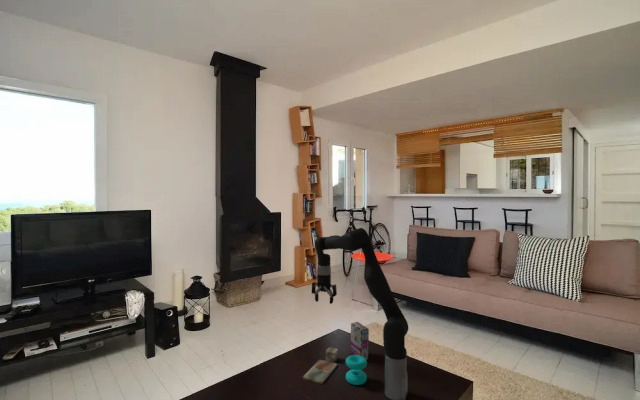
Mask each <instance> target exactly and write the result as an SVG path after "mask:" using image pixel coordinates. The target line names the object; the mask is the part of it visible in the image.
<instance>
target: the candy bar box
mask: <svg viewBox="0 0 640 400" xmlns="http://www.w3.org/2000/svg"><path fill="white" fill-rule="evenodd" d="M369 332H370V331H369V328H368V327H367V326H365V325H363V324H362V323H360V322H358V321H355V322H351V323H350V353H351V354H352V355H360V356H362V357H364V358H365V359H366V360H369V342H370V341H369V336H370V335H369V334H370V333H369Z"/></svg>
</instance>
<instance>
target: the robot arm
mask: <svg viewBox="0 0 640 400" xmlns="http://www.w3.org/2000/svg"><path fill="white" fill-rule="evenodd" d="M314 248H315V251H316V256H317V269H316V270H317V271H316V273H317V274H316V279H317V280H316V281H317V282H316V281H314V282H312V284H311V294H313V295H314V300H315V302H319V301H320V300H319V299H320V298H319V297H320V296H319V293H320V292H321V293H323V292H324V293H327V294H328V295H329V304H330V305H332V304H333V303H334V297H336V296H337V295H338V293H337V284H332V275H331V274H332V267H331V255H330V254H328V253H324V251H325V250H326V251H327V250H328V251H329V250H338V249H340V250H345V251H349V252H355V251H359V250H362V252H363V256H364V271H363V278H364V282H365V284H366V286H367V289H368V291H369V293H370V295H371V296H372V297H373V299H374V300H376V302H377V303H378V304H379V305H380V307H381V308H382V310H383V313H384V315H385V318H386V320H387V321H386V322H385V323H384V325H383V329H382V331H383V332H382V333H383V334H382V336H383V337H382V339H383V349H384V395H385V396H386V397H387V398H388V399H390V400H406V399H407V396H408V379H409V378H408V371H407V367H408V366H407V361H408V360H407V359H408V357H407V356H408V354H407V349H406V347H405V345H406V344H405V340H406V339H405V337H406V335H408V334H407V333H408V332H409V323H408V321H407V319H406V317H405V315H404V314H403V312H402V310H401V308H400V307H399V305H398V303H397V300H396V298H395V296H394V294H393V292H392V288H391V287H390V285H389V282H388V280H387V277H386V276H385V273H384V271H383V269H382V266H381V264H380V263H379V260H378V258H377V255H376V253H375V250H374V247H373V243H372V241H371V239H370V235H369V233H368V231H366V230H365V228H363V227H358V228H356V229H353V230H350V231H347V232H346V233H344V234H342V235H329V236H319V237H316V239H315V240H314ZM316 287H317V289H316Z"/></svg>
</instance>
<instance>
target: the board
mask: <svg viewBox="0 0 640 400" xmlns="http://www.w3.org/2000/svg"><path fill="white" fill-rule="evenodd" d="M337 366H338V363H336V362H330V361H326V360H323V359H318V360H317V361H316V362H315V363H314V364H313V366H312V367H311V368H310V369H309V370H308V371H307V372H306V373H305V374H304V375H303V376H302V379H303V380H305V381H310V382H313V383H317V384H321V385H323V384H324V383H325V381H326V380H327V379H328V378H329V376H330V375H331V374H332V373H333V371H334V370H335V369H336V368H337Z"/></svg>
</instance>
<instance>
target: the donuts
mask: <svg viewBox="0 0 640 400" xmlns="http://www.w3.org/2000/svg"><path fill="white" fill-rule="evenodd" d="M345 364H346V366H347V367H348V368H349V369H350V370H348V371H347V372H346V374H345V380H346V381H347V383H349V384H351V385H354V386H359V385H360V386H361V385H364V384H365V383H366V382H367V380H368V375H367V374H366V372H364V371H363V370H364V369H365V368H366V367H367V365H368V361H367V360H366V359H365V358H364V357H362V356H360V355H353V354H352V355H349V356H348V357H346V359H345Z"/></svg>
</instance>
